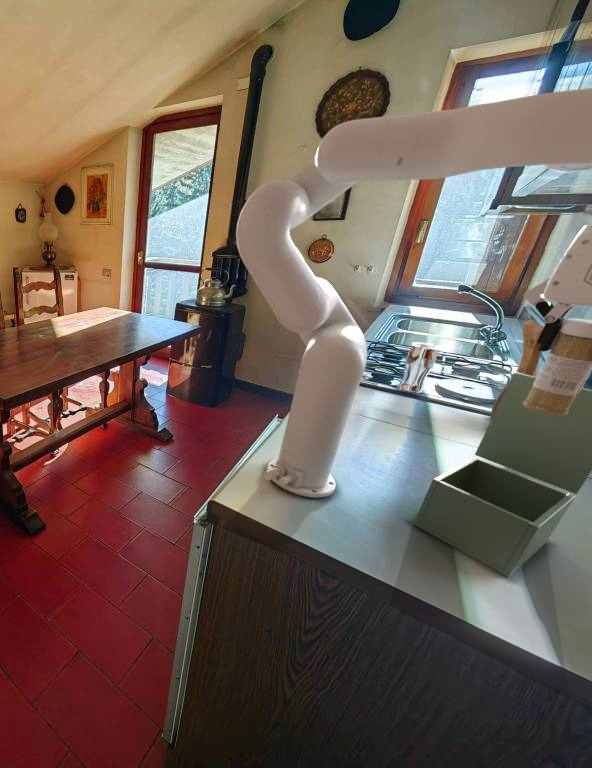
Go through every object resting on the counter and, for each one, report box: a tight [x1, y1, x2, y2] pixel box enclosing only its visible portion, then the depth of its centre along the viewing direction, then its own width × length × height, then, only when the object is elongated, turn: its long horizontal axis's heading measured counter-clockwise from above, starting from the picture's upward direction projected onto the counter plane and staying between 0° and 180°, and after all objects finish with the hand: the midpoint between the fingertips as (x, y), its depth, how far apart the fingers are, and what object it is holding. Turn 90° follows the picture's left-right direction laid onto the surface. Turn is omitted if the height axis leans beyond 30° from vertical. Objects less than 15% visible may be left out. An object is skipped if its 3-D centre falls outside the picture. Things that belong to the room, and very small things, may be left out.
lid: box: [474, 371, 592, 495], centre depth 65 cm, size 16×13×5 cm
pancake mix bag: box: [489, 318, 545, 423], centre depth 99 cm, size 7×19×28 cm, turn 135°
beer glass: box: [397, 342, 440, 395], centre depth 124 cm, size 7×7×15 cm
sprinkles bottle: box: [523, 317, 592, 416], centre depth 55 cm, size 5×5×13 cm
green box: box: [412, 456, 576, 578], centre depth 66 cm, size 16×13×10 cm
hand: (573, 354), depth 54 cm, fingers closed on sprinkles bottle, 4 cm apart
